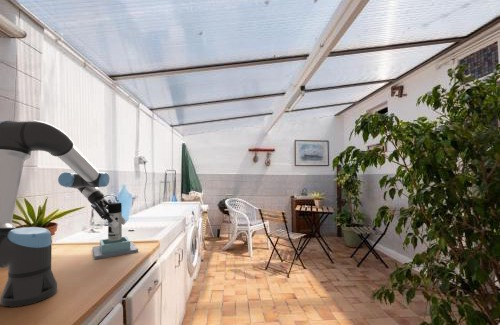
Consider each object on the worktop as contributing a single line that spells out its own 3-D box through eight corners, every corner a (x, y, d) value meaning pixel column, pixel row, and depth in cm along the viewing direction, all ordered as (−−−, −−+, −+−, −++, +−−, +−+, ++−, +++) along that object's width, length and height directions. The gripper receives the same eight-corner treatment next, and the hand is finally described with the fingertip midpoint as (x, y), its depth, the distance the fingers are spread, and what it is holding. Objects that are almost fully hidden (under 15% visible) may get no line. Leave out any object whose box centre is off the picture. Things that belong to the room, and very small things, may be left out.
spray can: (105, 240, 142) (105, 203, 143) (116, 237, 148) (116, 202, 149) (113, 242, 139) (113, 204, 140) (124, 239, 145) (124, 202, 146)
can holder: (94, 259, 129) (94, 248, 130) (92, 249, 146) (92, 239, 146) (138, 251, 141) (138, 241, 141) (131, 243, 157) (131, 234, 157)
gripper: (100, 197, 156) (126, 225, 154) (75, 201, 136) (104, 233, 134) (109, 188, 155) (135, 216, 153) (84, 191, 136) (114, 223, 134)
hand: (121, 224), depth 144 cm, fingers closed on spray can, 7 cm apart
